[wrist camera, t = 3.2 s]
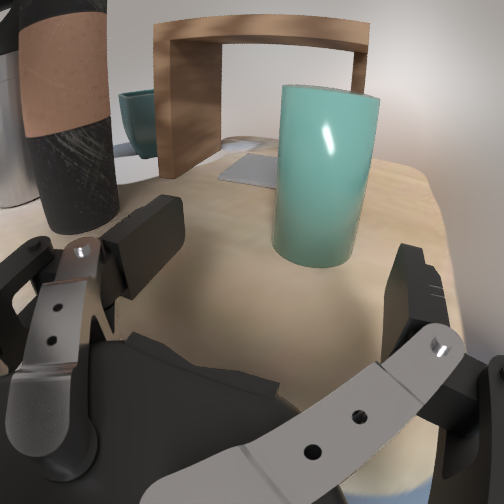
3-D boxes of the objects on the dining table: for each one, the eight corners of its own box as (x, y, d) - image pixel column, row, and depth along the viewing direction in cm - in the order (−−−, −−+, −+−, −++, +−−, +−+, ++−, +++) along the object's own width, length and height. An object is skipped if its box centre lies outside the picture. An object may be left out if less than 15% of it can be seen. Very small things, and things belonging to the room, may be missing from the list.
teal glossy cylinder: (260, 256, 21) (270, 87, 15) (283, 217, 26) (294, 83, 20) (348, 276, 20) (382, 103, 14) (354, 232, 25) (378, 96, 18)
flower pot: (177, 141, 46) (176, 86, 41) (197, 155, 40) (196, 89, 35) (122, 151, 42) (117, 93, 37) (131, 168, 36) (125, 97, 31)
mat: (218, 179, 33) (218, 175, 32) (247, 156, 40) (247, 153, 39) (302, 193, 30) (303, 190, 30) (316, 167, 37) (317, 164, 37)
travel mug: (122, 191, 30) (111, -2, 19) (122, 227, 24) (105, -24, 13) (54, 205, 28) (33, 15, 16) (39, 243, 22) (5, 3, 10)
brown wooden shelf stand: (159, 177, 33) (153, 24, 23) (208, 148, 42) (208, 30, 33) (346, 209, 28) (369, 23, 18) (353, 170, 37) (368, 38, 28)
